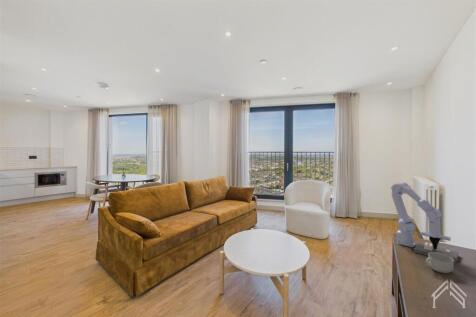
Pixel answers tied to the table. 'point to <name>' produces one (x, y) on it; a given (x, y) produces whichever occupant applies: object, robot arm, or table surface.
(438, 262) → the teacup
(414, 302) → the table surface
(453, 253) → the console
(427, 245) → the fader
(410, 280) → the table surface
